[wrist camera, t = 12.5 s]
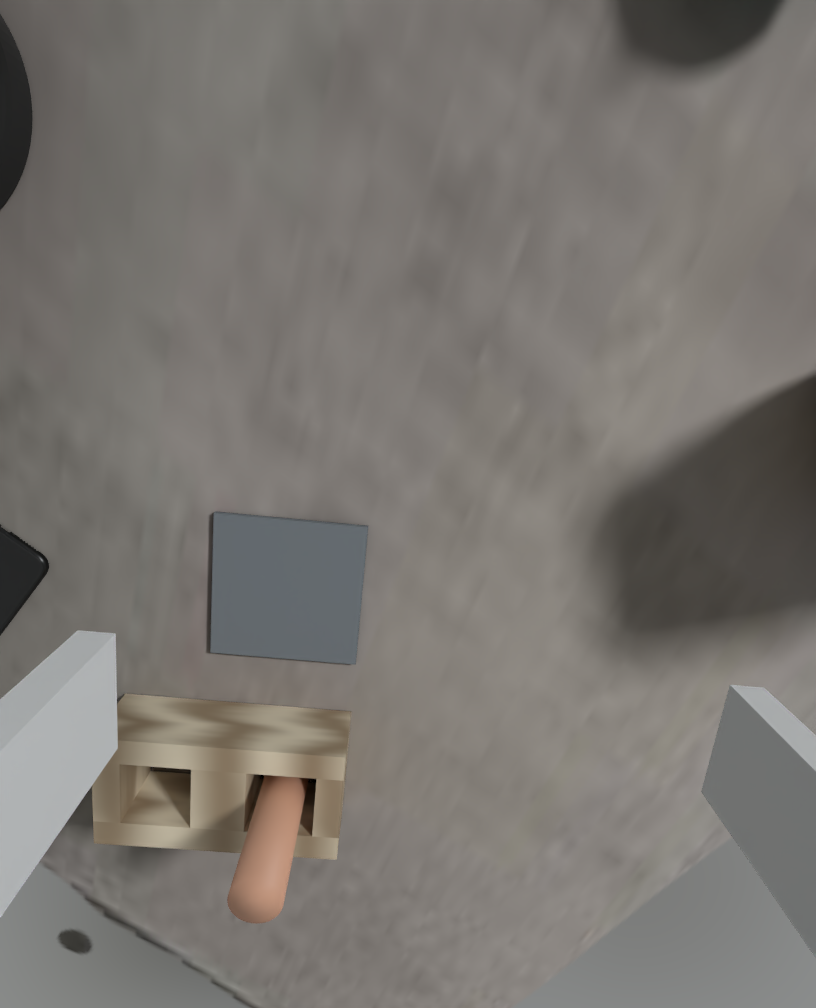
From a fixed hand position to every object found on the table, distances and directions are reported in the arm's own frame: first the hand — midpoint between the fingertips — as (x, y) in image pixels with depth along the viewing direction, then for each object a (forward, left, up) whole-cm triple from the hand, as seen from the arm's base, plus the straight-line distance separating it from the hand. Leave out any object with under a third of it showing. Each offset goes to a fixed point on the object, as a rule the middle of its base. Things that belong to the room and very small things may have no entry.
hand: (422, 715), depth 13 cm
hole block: (-10, -22, -27) cm, 36 cm away
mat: (-7, -9, -27) cm, 29 cm away
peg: (-6, -22, -27) cm, 35 cm away
